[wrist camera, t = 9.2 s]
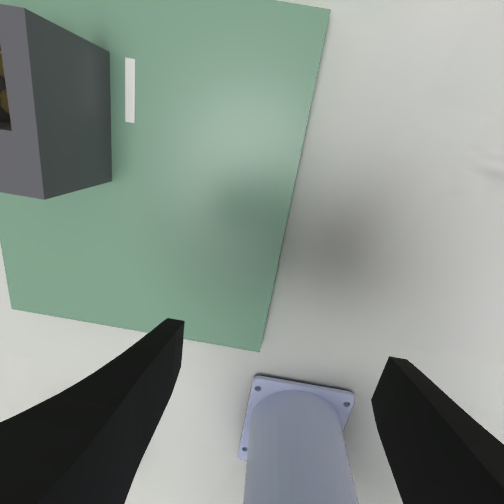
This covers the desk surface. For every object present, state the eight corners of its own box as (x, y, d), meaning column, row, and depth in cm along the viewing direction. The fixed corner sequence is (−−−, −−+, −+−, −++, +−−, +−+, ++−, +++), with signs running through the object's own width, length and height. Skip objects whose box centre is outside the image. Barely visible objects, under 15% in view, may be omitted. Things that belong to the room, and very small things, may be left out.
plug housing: (112, 181, 17) (44, 199, 12) (28, 166, 17) (-75, 179, 12) (109, 51, 15) (24, 7, 10) (12, 35, 15) (-123, -17, 10)
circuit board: (260, 341, 22) (259, 353, 21) (24, 300, 22) (10, 309, 21) (326, 19, 15) (331, 8, 14) (-26, -39, 15) (-52, -55, 14)
